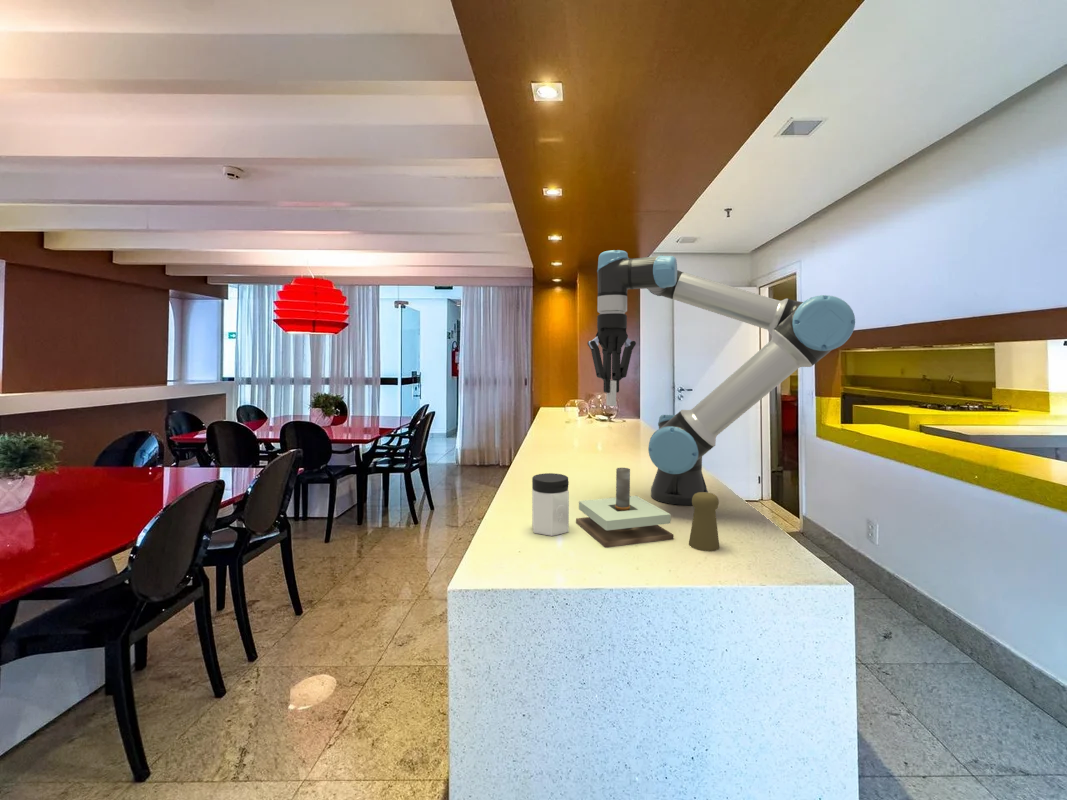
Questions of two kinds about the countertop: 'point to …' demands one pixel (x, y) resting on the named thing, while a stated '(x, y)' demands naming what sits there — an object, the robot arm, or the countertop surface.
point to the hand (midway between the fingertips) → (611, 405)
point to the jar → (550, 504)
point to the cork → (704, 522)
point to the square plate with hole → (624, 513)
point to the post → (627, 534)
